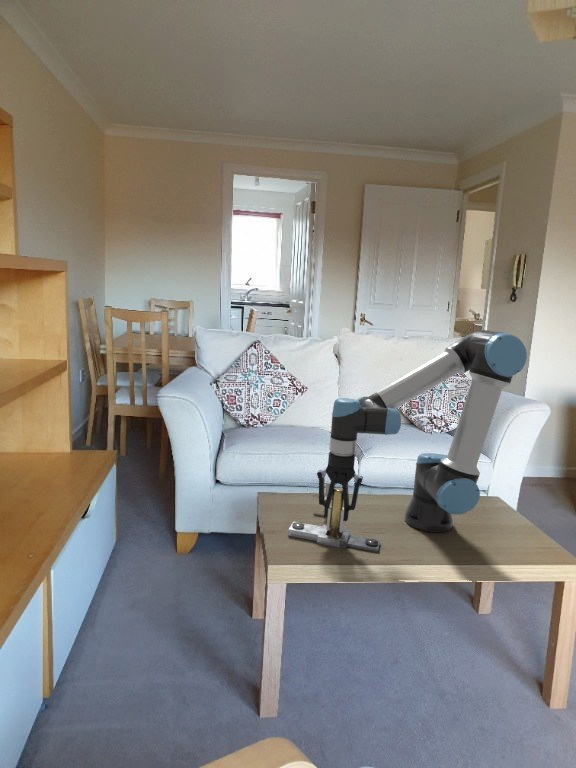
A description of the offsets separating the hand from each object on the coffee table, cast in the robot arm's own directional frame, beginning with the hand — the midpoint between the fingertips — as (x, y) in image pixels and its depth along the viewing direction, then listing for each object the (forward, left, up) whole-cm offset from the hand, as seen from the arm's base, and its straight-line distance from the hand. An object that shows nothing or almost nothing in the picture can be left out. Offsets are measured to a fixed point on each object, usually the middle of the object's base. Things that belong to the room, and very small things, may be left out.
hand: (334, 529), depth 155 cm
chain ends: (0, 0, -3) cm, 3 cm away
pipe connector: (+6, -20, -3) cm, 21 cm away
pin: (0, 0, -2) cm, 2 cm away
